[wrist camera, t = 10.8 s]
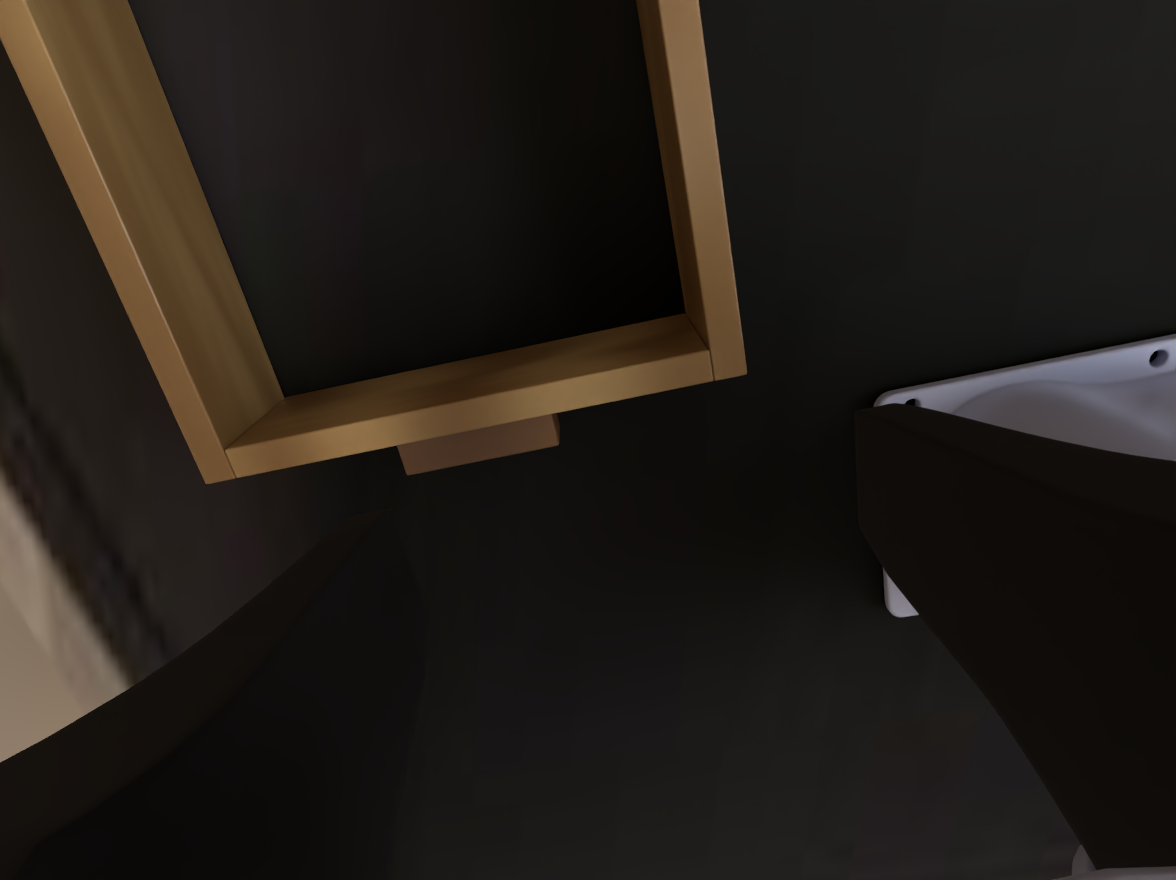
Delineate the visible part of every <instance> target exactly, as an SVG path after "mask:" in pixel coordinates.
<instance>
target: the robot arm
mask: <svg viewBox="0 0 1176 880" xmlns="http://www.w3.org/2000/svg"><path fill="white" fill-rule="evenodd" d="M1155 351H1158V354H1157V356H1156V358H1155V359H1154V360H1153V361H1152V362H1150V363H1149V359H1150V356H1151V355H1152V354H1153V353H1154V352H1155ZM910 399H915V405H914V406H913V405H907V404H905V403H906V401H908V400H910ZM854 428H855V453H856V478H857V503H858V525H859V527H860V529H861V531H862V532H863V534H864V536H865V538H866V540H867V541H868V543H869V545H870V547H871V548H872V550H873V552H874V554H875V555H876V557H877V558H878V560H879V562H880V563H881V565H882V567H883V578H884V595H885V604H886V607H887V608H888V610H889V611H890V612H891V613H892V614H893V615H894V616H897V617H907V616H913V615H920V616H921V618H922V619H923V620H924V621H925V622H926V624H927V625H928V626H929V627H930V629H931V630H932V631H933V632H934V633H935V635H936V636H937V637H938V638H939V639H940V641H941V642H942V643H943V644H944V646H945V647H946V648H947V649H948V650H949V652H950V653H951V654H952V655H953V657H954V658H955V659H956V660H957V661H958V663H959V664H960V665H961V666H962V668H963V669H964V670H965V671H966V672H967V674H968V675H969V676H970V677H971V679H972V680H973V681H974V682H975V683H976V685H977V686H978V687H979V689H980V690H981V691H982V693H983V694H984V695H985V697H986V698H987V699H988V701H989V702H990V703H991V705H992V706H993V707H994V709H995V710H996V711H997V713H998V714H999V715H1000V717H1001V718H1002V720H1003V722H1004V723H1005V725H1006V726H1007V728H1008V729H1009V731H1010V732H1011V734H1012V735H1013V737H1014V738H1015V740H1016V741H1017V743H1018V744H1019V746H1020V747H1021V749H1022V751H1023V752H1024V754H1025V755H1026V757H1027V758H1028V760H1029V761H1030V763H1031V764H1032V766H1033V767H1034V769H1035V770H1036V772H1037V773H1038V775H1039V777H1040V778H1041V780H1042V781H1043V783H1044V785H1045V786H1046V788H1047V789H1048V791H1049V793H1050V794H1051V796H1052V798H1053V799H1054V801H1055V802H1056V804H1057V806H1058V807H1059V809H1060V810H1061V812H1062V814H1063V815H1064V817H1065V819H1066V820H1067V822H1068V823H1069V825H1070V827H1071V828H1072V830H1073V832H1074V833H1075V835H1076V836H1077V838H1078V840H1079V841H1080V843H1081V845H1080V846H1079V847H1078V850H1077V852H1076V854H1075V857H1074V859H1073V862H1072V876H1067V877H1062V878H1058V879H1053V880H1176V334H1172V335H1167V336H1162V337H1157V338H1152V339H1147V340H1142V341H1137V342H1132V343H1127V344H1122V345H1117V346H1112V347H1107V348H1102V349H1097V350H1092V351H1087V352H1082V353H1077V354H1072V355H1067V356H1062V357H1057V358H1052V359H1047V360H1042V361H1037V362H1032V363H1027V364H1022V365H1017V366H1012V367H1007V368H1002V369H997V370H992V371H986V372H981V373H976V374H971V375H966V376H961V377H956V378H951V379H946V380H941V381H936V382H931V383H926V384H921V385H916V386H911V387H906V388H901V389H896V390H891V391H888V392H885V393H883V394H881V395H880V396H879V397H878V398H877V400H876V401H875V403H874V407H871V408H867V409H862V410H857V411H854ZM428 627H429V613H428V610H427V608H426V605H425V602H424V599H423V596H422V593H421V591H420V588H419V585H418V582H417V579H416V576H415V574H414V571H413V568H412V565H411V562H410V559H409V557H408V554H407V551H406V548H405V545H404V542H403V539H402V537H401V534H400V531H399V528H398V525H397V522H396V520H395V517H394V514H393V511H392V508H388V509H384V510H379V511H374V512H369V513H364V514H360V515H355V516H352V517H350V518H349V519H347V520H346V521H344V522H343V523H341V524H340V525H339V526H337V527H336V528H335V529H334V530H332V531H331V532H330V533H329V534H327V535H326V536H325V537H324V538H323V539H322V540H320V541H319V542H318V543H317V544H316V545H315V546H313V547H312V548H311V549H310V550H309V551H308V552H307V553H305V554H304V555H303V556H302V557H301V558H300V559H298V560H297V561H296V562H295V563H294V564H293V565H292V566H290V567H289V568H288V569H287V570H286V571H285V572H283V573H282V574H281V575H280V576H279V577H278V578H277V579H275V580H274V581H273V582H272V583H271V584H270V585H269V586H267V587H266V588H265V589H264V590H263V591H261V592H260V593H259V594H258V595H256V596H255V597H254V598H253V599H251V600H250V601H249V602H248V603H246V604H245V605H244V606H243V607H241V608H240V609H239V610H238V611H236V612H235V613H234V614H233V615H232V616H230V617H229V618H228V619H227V620H225V621H224V622H223V623H222V624H220V625H219V626H218V627H217V628H215V629H214V630H213V631H212V632H210V633H209V634H208V635H206V636H205V637H204V638H202V639H201V640H200V641H198V642H197V643H196V644H194V645H193V646H191V647H190V648H189V649H187V650H186V651H184V652H183V653H182V654H180V655H179V656H177V657H176V658H174V659H173V660H172V661H170V662H169V663H167V664H166V665H164V666H163V667H161V668H160V669H158V670H157V671H155V672H154V673H152V674H151V675H149V676H148V677H146V678H145V679H144V680H142V681H140V682H139V683H137V684H136V685H134V686H133V687H131V688H130V689H128V690H126V691H125V692H123V693H121V694H120V695H118V696H116V697H115V698H113V699H111V700H110V701H108V702H106V703H105V704H103V705H101V706H100V707H98V708H96V709H94V710H93V711H91V712H89V713H88V714H86V715H84V716H83V717H81V718H79V719H78V720H76V721H75V722H73V723H71V724H69V725H68V726H66V727H64V728H63V729H61V730H59V731H57V732H56V733H54V734H52V735H51V736H49V737H48V738H45V739H43V740H42V741H40V742H38V743H36V744H34V745H33V746H30V747H29V748H27V749H25V750H23V751H21V752H19V753H17V754H16V755H14V756H12V757H10V758H8V759H6V760H4V761H2V762H1V763H0V880H389V875H390V865H391V854H392V844H393V836H394V830H395V824H396V818H397V812H398V806H399V801H400V796H401V791H402V787H403V782H404V777H405V772H406V767H407V763H408V758H409V753H410V748H411V743H412V739H413V734H414V729H415V724H416V719H417V715H418V709H419V704H420V699H421V694H422V689H423V684H424V679H425V673H426V663H427V649H428Z"/></svg>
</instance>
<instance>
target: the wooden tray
mask: <svg viewBox="0 0 1176 880" xmlns="http://www.w3.org/2000/svg"><path fill="white" fill-rule="evenodd" d="M636 3H637V10H638V16H639V22H640V29H641V35H642V41H643V47H644V54H645V60H646V66H647V72H648V79H649V85H650V91H651V98H652V104H653V110H654V116H655V123H656V129H657V135H658V142H659V148H660V154H661V160H662V167H663V173H664V179H665V185H666V192H667V198H668V204H669V211H670V217H671V223H672V229H673V236H674V242H675V248H676V255H677V261H678V267H679V273H680V280H681V286H682V292H683V298H684V305H685V311H686V314H679V315H674V316H669V317H665V318H660V319H655V320H650V321H646V322H641V323H636V324H631V325H626V326H622V327H617V328H612V329H607V330H603V331H598V332H593V333H588V334H584V335H579V336H574V337H569V338H565V339H560V340H555V341H550V342H546V343H541V344H536V345H531V346H527V347H522V348H517V349H512V350H507V351H503V352H498V353H493V354H488V355H484V356H479V357H474V358H469V359H465V360H460V361H455V362H450V363H446V364H441V365H436V366H431V367H427V368H422V369H417V370H412V371H408V372H403V373H398V374H393V375H388V376H384V377H379V378H374V379H369V380H365V381H360V382H355V383H350V384H346V385H341V386H336V387H331V388H327V389H322V390H317V391H312V392H308V393H303V394H298V395H293V396H288V397H285V398H284V396H283V393H282V391H281V388H280V386H279V383H278V381H277V378H276V376H275V373H274V370H273V368H272V365H271V363H270V360H269V358H268V355H267V353H266V350H265V348H264V345H263V343H262V340H261V337H260V335H259V332H258V330H257V327H256V325H255V322H254V320H253V317H252V315H251V312H250V310H249V307H248V305H247V302H246V299H245V297H244V294H243V292H242V289H241V287H240V284H239V282H238V279H237V277H236V274H235V272H234V269H233V266H232V264H231V261H230V259H229V256H228V254H227V251H226V249H225V246H224V244H223V241H222V239H221V236H220V234H219V231H218V228H217V226H216V223H215V221H214V218H213V216H212V213H211V211H210V208H209V206H208V203H207V201H206V198H205V195H204V193H203V190H202V188H201V185H200V183H199V180H198V178H197V175H196V173H195V170H194V168H193V165H192V163H191V160H190V157H189V155H188V152H187V150H186V147H185V145H184V142H183V140H182V137H181V135H180V132H179V130H178V127H177V124H176V122H175V119H174V117H173V114H172V112H171V109H170V107H169V104H168V102H167V99H166V97H165V94H164V91H163V89H162V86H161V84H160V81H159V79H158V76H157V74H156V71H155V69H154V66H153V64H152V61H151V59H150V56H149V53H148V51H147V48H146V46H145V43H144V41H143V38H142V36H141V33H140V31H139V28H138V26H137V23H136V20H135V18H134V15H133V13H132V10H131V8H130V5H129V3H128V0H0V39H1V41H2V43H3V45H4V47H5V50H6V52H7V54H8V56H9V58H10V60H11V63H12V65H13V67H14V69H15V71H16V73H17V76H18V78H19V80H20V82H21V84H22V86H23V89H24V91H25V93H26V95H27V97H28V99H29V102H30V104H31V106H32V108H33V110H34V112H35V115H36V117H37V119H38V121H39V123H40V125H41V128H42V130H43V132H44V134H45V136H46V138H47V141H48V143H49V145H50V147H51V149H52V151H53V154H54V156H55V158H56V160H57V162H58V164H59V167H60V169H61V171H62V173H63V175H64V177H65V180H66V182H67V184H68V186H69V188H70V190H71V193H72V195H73V197H74V199H75V201H76V203H77V206H78V208H79V210H80V212H81V214H82V216H83V219H84V221H85V223H86V225H87V227H88V229H89V232H90V234H91V236H92V238H93V240H94V243H95V245H96V247H97V249H98V251H99V253H100V256H101V258H102V260H103V262H104V264H105V266H106V269H107V271H108V273H109V275H110V277H111V279H112V282H113V284H114V286H115V288H116V290H117V292H118V295H119V297H120V299H121V301H122V303H123V305H124V308H125V310H126V312H127V314H128V316H129V318H130V321H131V323H132V325H133V327H134V329H135V331H136V334H137V336H138V338H139V340H140V342H141V344H142V347H143V349H144V351H145V353H146V355H147V357H148V360H149V362H150V364H151V366H152V368H153V370H154V373H155V375H156V377H157V379H158V381H159V383H160V386H161V388H162V390H163V392H164V394H165V396H166V399H167V401H168V403H169V405H170V407H171V409H172V412H173V414H174V416H175V418H176V420H177V422H178V425H179V427H180V429H181V431H182V433H183V435H184V438H185V440H186V442H187V444H188V446H189V448H190V451H191V453H192V455H193V457H194V459H195V461H196V464H197V466H198V468H199V470H200V472H201V474H202V477H203V479H204V481H205V483H206V484H210V483H215V482H220V481H225V480H230V479H235V478H236V477H238V478H239V477H244V476H249V475H254V474H259V473H264V472H269V471H274V470H278V469H283V468H288V467H293V466H298V465H303V464H308V463H313V462H318V461H323V460H328V459H333V458H338V457H342V456H347V455H352V454H357V453H362V452H367V451H372V450H377V449H382V448H387V447H392V446H397V448H398V450H399V453H400V456H401V459H402V462H403V465H404V468H405V471H406V474H407V475H413V474H418V473H423V472H428V471H433V470H438V469H443V468H448V467H453V466H458V465H463V464H468V463H473V462H478V461H483V460H488V459H493V458H498V457H503V456H508V455H513V454H518V453H523V452H528V451H533V450H538V449H543V448H548V447H553V446H557V445H559V437H560V425H559V421H558V417H557V413H559V412H564V411H569V410H574V409H579V408H583V407H588V406H593V405H598V404H603V403H608V402H613V401H618V400H623V399H628V398H633V397H638V396H642V395H647V394H652V393H657V392H662V391H667V390H672V389H677V388H682V387H687V386H692V385H697V384H701V383H706V382H711V381H713V379H714V380H716V381H717V380H722V379H727V378H732V377H737V376H741V375H746V374H747V367H746V359H745V352H744V344H743V336H742V329H741V321H740V313H739V306H738V298H737V290H736V283H735V275H734V267H733V260H732V252H731V244H730V237H729V229H728V221H727V214H726V206H725V198H724V191H723V183H722V175H721V168H720V160H719V152H718V145H717V137H716V129H715V122H714V114H713V106H712V99H711V91H710V83H709V76H708V68H707V60H706V52H705V45H704V37H703V29H702V22H701V14H700V6H699V0H636Z"/></svg>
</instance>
